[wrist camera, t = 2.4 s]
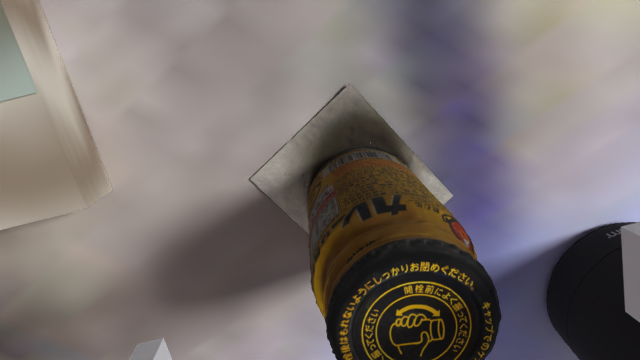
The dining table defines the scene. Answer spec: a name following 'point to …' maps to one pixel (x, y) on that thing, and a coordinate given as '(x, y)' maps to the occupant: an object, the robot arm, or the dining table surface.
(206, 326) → the dining table surface
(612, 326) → the pen holder
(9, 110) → the cream flat block
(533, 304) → the dining table surface
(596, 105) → the dining table surface
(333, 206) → the condiment
